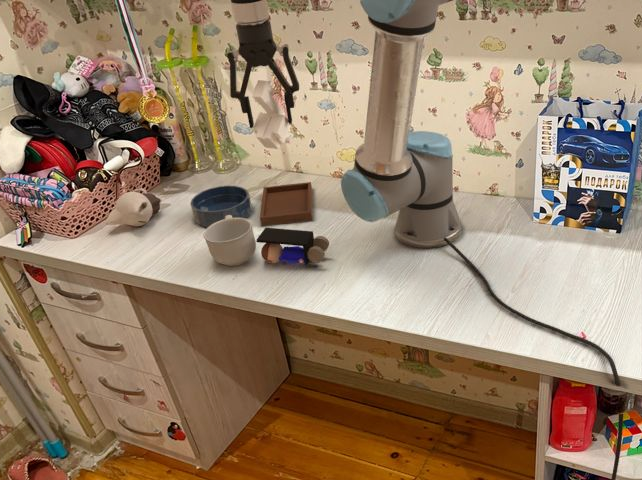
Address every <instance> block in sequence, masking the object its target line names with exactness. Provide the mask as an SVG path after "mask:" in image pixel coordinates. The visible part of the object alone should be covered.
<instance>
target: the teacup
mask: <svg viewBox="0 0 642 480" xmlns="http://www.w3.org/2000/svg"><path fill="white" fill-rule="evenodd" d="M203 238H204V240H205V243H206V245H207V248H208V251H209V253H210V256H211V257H212V258H213V260H214V261H215V262H217V263H218V264H221V265H223V266H228V267H236V266H240V265H243V264H245V263H247V261H249V260H250V259H251V258H252V256H253V255H254V253H255V251H256V249H257V241H256V238H255V234H254V230H253V225H252V222H251V221H250V220H249V219H247V218H246V219H245V218H233V217H232V216H231V215H227V216H225V219H224V220H221V221H218V222H215V223H214V224H212V225H210V226H209V227H206V228H205V230H204V231H203Z"/></svg>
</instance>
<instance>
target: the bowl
mask: <svg viewBox="0 0 642 480" xmlns="http://www.w3.org/2000/svg"><path fill="white" fill-rule="evenodd" d="M190 207H191V208H190V209H191V213H192V215H193V219H194V221H195V223H196V224H197V225H200V226H201V227H205V228H208V227H209V226H210V225H212V224H214V223H215V222H218V221H221V220H224V219H225V216H227V215H231V216H232V217H233V218H245V219H247V218H249V217H250V215H251V214H252V212H253V205H252V201H251V195H250V192H249V191H248V189H246V188H245V187H242V186H238V185H219V186H215V187H210V188H207V189H205V190H202V191H201V192H199V193H197V194H195V195H194V196H193V197H192V198H191V201H190Z"/></svg>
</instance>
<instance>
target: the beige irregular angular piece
mask: <svg viewBox="0 0 642 480" xmlns="http://www.w3.org/2000/svg"><path fill="white" fill-rule="evenodd" d="M273 85H274V84H273V82H272V80H260V79H258V80H257V82H256V85H255V87H254V89H253V91H252V97H251V98H253V100H255V102H256V103H257V105H259V106H261V108H262V109H263V110H264V111H265V112H259V113H258V115H257V118H256V120H255V122H254V126H253V128H252V131H253V133H254V134H255V138H256V139H257V140H258V141H259V143H260V144H262V146H263V147H264V148H266V149H273V150H280V148H281V146H282V144H283V145H285V144H291V143H292V141H293V138H294V136H295V134H294V133H293V132H289V131H290V129H291V124H289V122H288V117H286V116H285V115H286V112H285V111H284V110H283V108H282V107H281V105H280V104H279V103H278V102H277V101H276V99H275V98H274V95H275V92H276V91H275V90H274V88H273Z"/></svg>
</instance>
